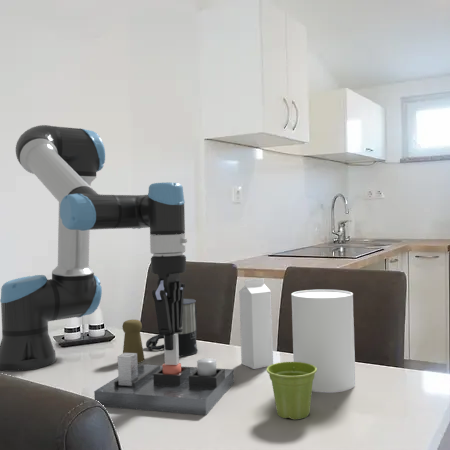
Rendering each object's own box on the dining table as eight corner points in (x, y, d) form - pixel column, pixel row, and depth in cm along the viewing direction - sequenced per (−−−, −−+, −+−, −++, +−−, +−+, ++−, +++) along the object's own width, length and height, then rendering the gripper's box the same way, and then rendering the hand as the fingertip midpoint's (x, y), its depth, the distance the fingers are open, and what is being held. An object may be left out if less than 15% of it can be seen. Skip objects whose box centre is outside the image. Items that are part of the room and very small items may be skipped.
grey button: (194, 377, 105) (194, 363, 105) (201, 371, 109) (200, 357, 109) (213, 378, 104) (212, 363, 104) (218, 372, 108) (218, 358, 108)
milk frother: (196, 356, 139) (194, 303, 139) (139, 358, 140) (137, 304, 140) (200, 344, 153) (198, 295, 153) (148, 345, 154) (147, 297, 154)
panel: (94, 405, 103) (93, 381, 103) (138, 376, 122) (138, 355, 122) (206, 415, 96) (205, 388, 96) (234, 382, 115) (233, 360, 115)
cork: (139, 363, 133) (138, 322, 133) (118, 363, 135) (117, 322, 135) (147, 357, 139) (146, 318, 139) (127, 357, 140) (125, 317, 140)
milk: (273, 365, 128) (271, 279, 128) (253, 369, 125) (251, 280, 125) (260, 360, 133) (258, 277, 133) (240, 363, 130) (238, 278, 130)
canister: (288, 389, 109) (285, 297, 109) (300, 371, 122) (298, 289, 122) (352, 394, 105) (349, 298, 105) (358, 375, 117) (355, 290, 117)
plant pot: (284, 427, 89) (282, 378, 89) (259, 410, 98) (258, 365, 98) (328, 418, 93) (326, 371, 93) (300, 402, 102) (299, 359, 102)
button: (159, 380, 108) (159, 366, 108) (167, 375, 111) (166, 361, 111) (177, 382, 106) (176, 367, 106) (184, 376, 110) (183, 362, 110)
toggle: (118, 385, 106) (117, 356, 106) (125, 380, 108) (124, 352, 108) (131, 385, 105) (130, 357, 105) (138, 381, 108) (137, 353, 108)
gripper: (172, 256, 101) (176, 373, 101) (195, 252, 114) (198, 356, 114) (138, 256, 104) (142, 371, 104) (164, 252, 116) (167, 355, 116)
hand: (172, 363), depth 109 cm, fingers closed
